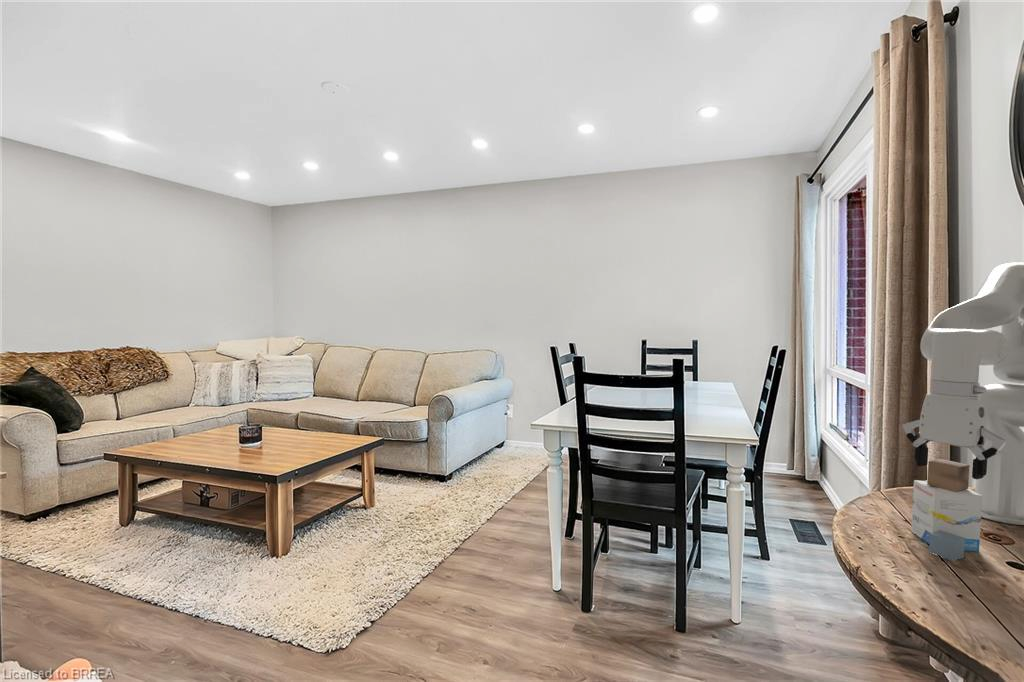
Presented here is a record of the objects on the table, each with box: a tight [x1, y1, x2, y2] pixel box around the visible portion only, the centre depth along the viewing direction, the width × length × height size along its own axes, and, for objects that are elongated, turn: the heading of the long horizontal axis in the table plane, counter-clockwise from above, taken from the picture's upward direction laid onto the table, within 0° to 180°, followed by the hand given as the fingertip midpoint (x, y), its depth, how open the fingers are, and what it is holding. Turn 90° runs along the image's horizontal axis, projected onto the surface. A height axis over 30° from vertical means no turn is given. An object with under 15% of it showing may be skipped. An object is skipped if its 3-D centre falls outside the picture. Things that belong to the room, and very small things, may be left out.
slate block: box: [928, 530, 965, 562], centre depth 102 cm, size 4×4×4 cm
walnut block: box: [926, 458, 970, 492], centre depth 108 cm, size 5×5×5 cm
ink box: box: [910, 479, 982, 553], centre depth 109 cm, size 9×8×12 cm
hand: (948, 471), depth 108 cm, fingers open, 9 cm apart
